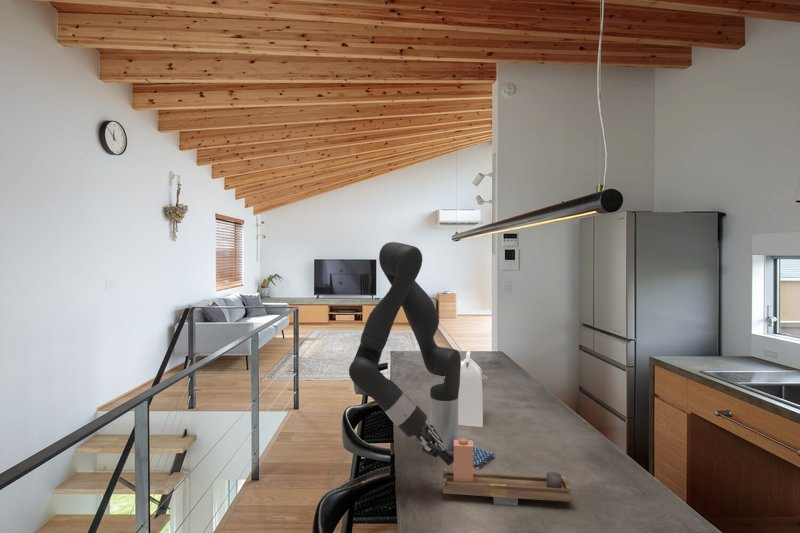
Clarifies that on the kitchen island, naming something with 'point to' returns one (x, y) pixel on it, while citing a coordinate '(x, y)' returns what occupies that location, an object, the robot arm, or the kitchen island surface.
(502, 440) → the kitchen island surface
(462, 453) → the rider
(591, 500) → the kitchen island surface
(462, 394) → the milk
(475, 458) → the woven mat
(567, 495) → the beam
